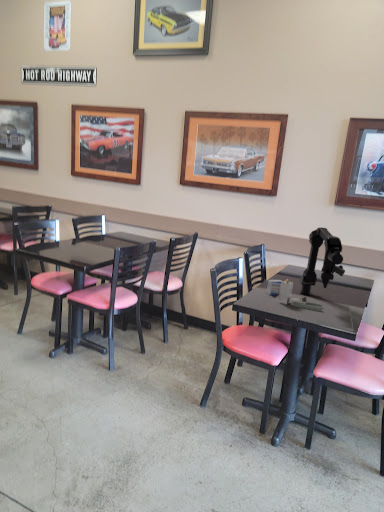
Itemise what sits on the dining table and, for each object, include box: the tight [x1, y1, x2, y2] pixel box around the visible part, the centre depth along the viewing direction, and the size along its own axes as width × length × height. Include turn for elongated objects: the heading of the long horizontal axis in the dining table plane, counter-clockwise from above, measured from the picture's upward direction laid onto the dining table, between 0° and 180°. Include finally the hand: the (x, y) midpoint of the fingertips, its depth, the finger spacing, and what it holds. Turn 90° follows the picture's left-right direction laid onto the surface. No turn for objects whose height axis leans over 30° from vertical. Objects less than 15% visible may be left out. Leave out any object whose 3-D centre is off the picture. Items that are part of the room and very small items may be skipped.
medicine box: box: [266, 279, 282, 296], centre depth 227 cm, size 8×4×9 cm, turn 105°
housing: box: [277, 278, 294, 305], centre depth 208 cm, size 5×5×14 cm
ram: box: [290, 296, 308, 306], centre depth 207 cm, size 4×8×5 cm, turn 70°
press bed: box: [292, 301, 323, 312], centre depth 212 cm, size 17×25×3 cm
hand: (324, 288), depth 203 cm, fingers closed
